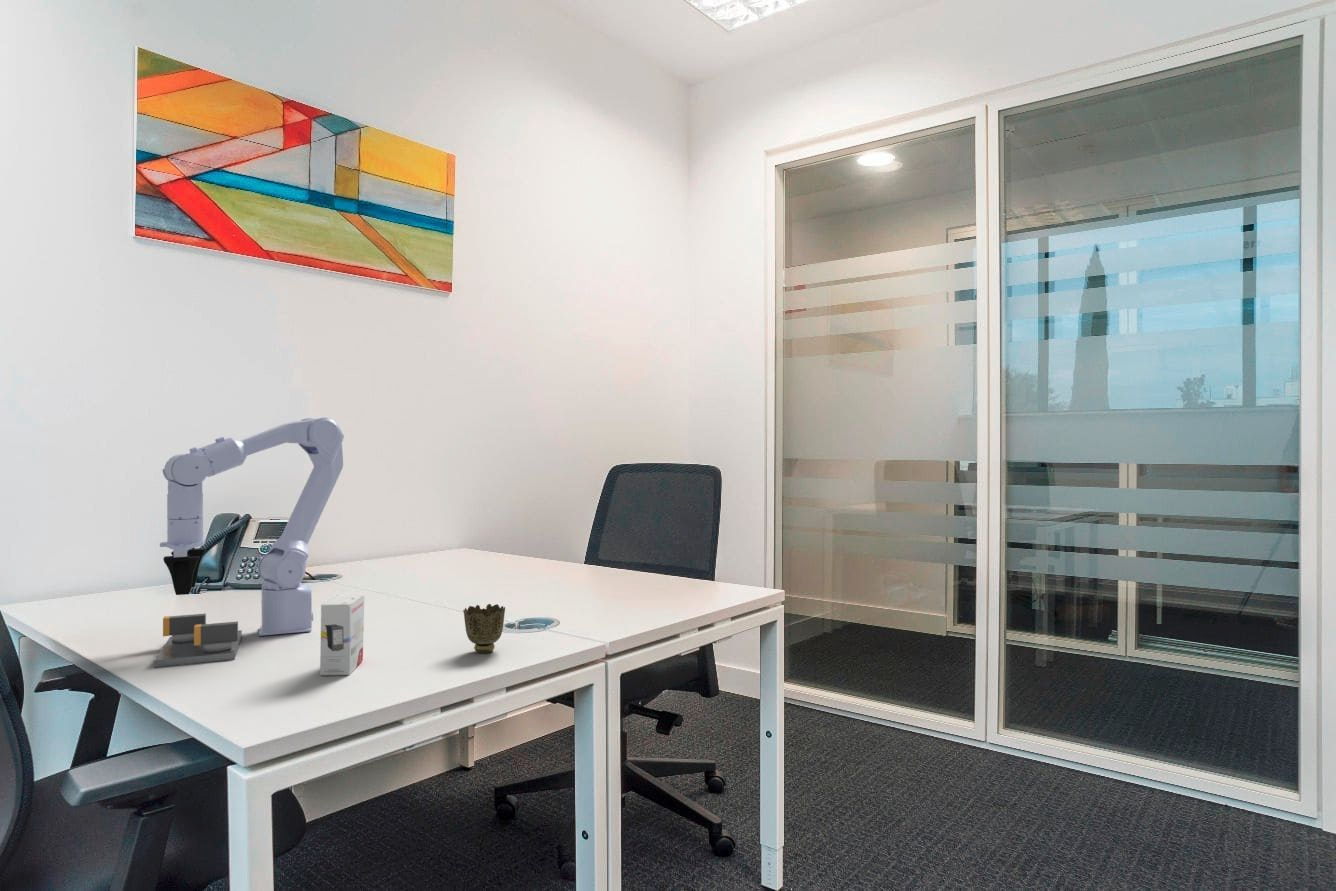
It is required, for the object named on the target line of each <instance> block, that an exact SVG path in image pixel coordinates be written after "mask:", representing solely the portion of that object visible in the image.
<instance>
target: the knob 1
mask: <svg viewBox="0 0 1336 891" xmlns="http://www.w3.org/2000/svg"><path fill="white" fill-rule="evenodd" d="M198 624H207V613H196V614H194V613H193V614H183V615H182V614H181V615H166V616H164V617H163V618H162V636H163V637H171V636H172V642H190V641H194V626H195V625H198Z"/></svg>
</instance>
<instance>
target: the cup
mask: <svg viewBox="0 0 1336 891" xmlns="http://www.w3.org/2000/svg"><path fill="white" fill-rule="evenodd" d="M462 612H463V617H464V618H463V620H464V625H465V626H464V627H465V632H466V635H467V638H468V640H469V641H470V643H472V644H473V645H474V646H473V649H474V651H475V653H478V654H489V653H492V652H493V651H494V650H495V647H496V646H495V643H496V642H498V641H499V639H500V638H501V637H502V634H503V630H504V629H503V628H504V621H505V612H506V607H505V606H504V605H502V606H500V605H499V604H498V603H497V604H494V605H492V604H490V603H488V604H486V607H485V608H484V607H483V608H481V606H480V605H478V604H477V605H475V606H472V605H469V606H468V607H467V608H466V607H464V609H463V610H462Z"/></svg>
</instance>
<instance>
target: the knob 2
mask: <svg viewBox="0 0 1336 891" xmlns="http://www.w3.org/2000/svg"><path fill="white" fill-rule="evenodd" d="M238 631H239V621H229V622H226V621H225V622H216V623H206V624H198V625H195V626H194V646H196V645H203V651H205V652H218V651H224V650H228V649H230V648H231V642H236V641H238Z"/></svg>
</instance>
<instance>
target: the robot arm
mask: <svg viewBox="0 0 1336 891" xmlns="http://www.w3.org/2000/svg"><path fill="white" fill-rule="evenodd" d="M341 429H342V428H340V426H339V424H338V423H337V422H336V421H335V420H334V419H332V418H330V417H325V416H324V417H319V418H310V417H308V418H302V419H300V420H295V421H294V420H293V421H290V422H286V423H282V424H280V425H277V426H275V427H272V428H269V429H267V430H264V431H261V432H260V433H257V434H254V435H251V436H249V437H247V438H244V439H242V440H238V439H235V438H232V437H227V438H225V437H224V436H220V437H218V438H216V439H214V441H215V442H214V443H211V444H207V445H205V446H201V447H199V448H197V447H191V448H189V453H185V454H184V453H182V454H181V453H180V454H176V455H172V456H171V457H169V459H168V460H167V461H166V462H165V465H164V468H163V469H162V474H163V476H164V479H166V480H167V494H166V496H167V497H166V501H167V503H166V504H167V505H166V510H167V511H166V513H167V514H166V518H167V519H166V520H167V524H166V525H167V526H166V527H167V531H166V532H167V534H166V535H167V536H166V538H167V539H166V540H167V541H161V542H160V543H159V547H160V548H168V549H169V550H172V551H171V552H170V554H171V555H167V556H166V555H165V556H164V557H163V562H164V564H165V565H166V567H167V569H168V571H169V574H170V578H171V580H172V586H173V590H174V592H175V595H176V596H183V595H190V593H191V589H192V588H195V587H196V585H197V584H196V583H197V580H198V574H199V569H200V566H201V565H200V564H201V562H202V559H203V557H204V555H205V553H206V551H207V550H206V548H205V547H203V546H205V540H204V494H203V482H204V481H205V480H206V478H210V477H213V476H215V475H218V474H221V473H223V472H226V471H229V470H232V469H235V468H237V467H239V466H242V465H243V464H244V463H245V461H246V459H247V457H248V456H250V455H254V454H256V453H259V452H262V451H265V450H268V449H272V448H274V447H277V446H280V445H283V444H286V443H287V444H297V445H298V446H300V448H301V449H302V450H303V451H305V453H306V454H307V455H308V457H309V459H310V461H311V462H312V465H313V468H312V470H311V473H310V474H309V476H308V478H307V481H306V483H305V484H304V487H303V489H302V491H301V494H300V495H299V497H298V499H297V502H296V504H295V507H294V508H293V511H292V512H291V514H290V516H289V518H288V520H287V523H286V525H285V528H284V529H283V531H282V534H281V535H280V537H279V538H278V539H276V540H275V541H274V542H273V543H272V545H271V547H270V548H269V550H268V551H267V552H266V553H265V554H264V555H263V556H261V558H260V559H259V560H258V563H257V573H258V576H259V577H260V578H261V579H262V580H263V582H262V584H261V625H260V626H259V630H258V636H260V637H261V636H263V637H264V636H273V635H282V634H283V635H286V634H294V633H295V634H297V633H304V632H305V633H306V632H311V631H313V630H312V626H313V625H312V624H313V623H312V622H314V611H312V600H313V599H312V585H311V584H310V585H309V584H306V585H305V584H304V585H303V584H302V581H303V579H304V577H305V575H306V569H307V567H306V565H307V564H306V563H307V559H308V557H309V548H308V544H309V542H310V540H311V539H312V538H311V537H312V536H313V534H314V531H315V529H316V527H317V524H318V522H319V521H320V518H321V516H322V514H323V512H324V510H325V507H326V505H327V503H328V500H329V498H330V496H331V494H332V491H333V489H334V487H335V485H336V483H337V481H338V479H339V476H340V474H341V472H342V470H343V468H344V455H343V454H344V453H343V441H344V438H345V435H344V433H343V431H342V430H341ZM199 547H201V548H199Z"/></svg>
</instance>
